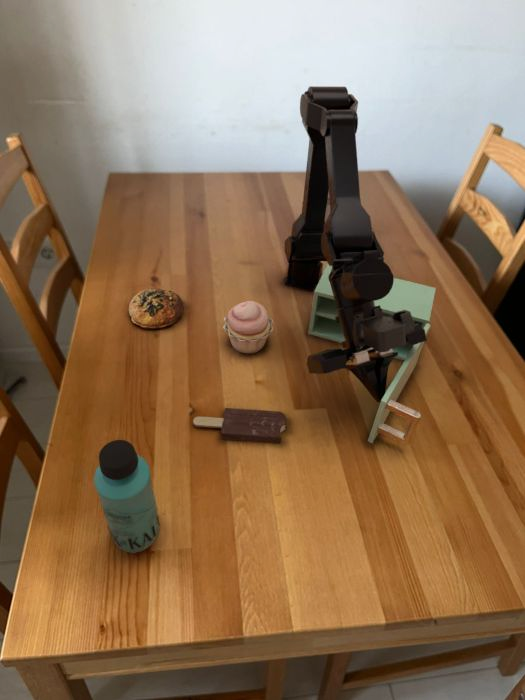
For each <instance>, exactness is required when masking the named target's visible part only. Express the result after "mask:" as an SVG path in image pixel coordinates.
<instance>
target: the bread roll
mask: <svg viewBox="0 0 525 700" xmlns="http://www.w3.org/2000/svg"><path fill="white" fill-rule="evenodd" d="M184 307H185V306H184V302H183V300H182V297H180V295H179V294H177V293H175V292H174V291H172V290H166V289H161V288H156V287H155V288H147V289H143V290H141V291H139V292H137V293H136V295H134V296H133V297H132V299H131V300H130V302H129V304H128V315H129V316H130V318H131V321H132V323H133V324H134V325H135V324H136V325H137V326H140V327H141V328H143V329H149V330H152V329H160V328H168V327H169V326H171V325H174V324H175V323H176V322H177V321H178V320H179V319H180V318H181V316H182V314H183V313H184Z"/></svg>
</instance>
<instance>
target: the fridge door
mask: <svg viewBox="0 0 525 700" xmlns="http://www.w3.org/2000/svg"><path fill="white" fill-rule="evenodd" d="M423 329H424V330H425V333H426V337H428V335H429V331H430V329H431V324H430V323H428V324H427V323H426V325H425V327H424V328H423ZM425 342H426V341H424V342H421V343H418V344H415V345H413V347H412V349H411V350H410V352H409V354H408V355H407V357H406V359H405V360H403V362H402V364H401V366H400V368H399V369H398V371H397V372H396V374H395V375H394V377H393V379H392V381H391V382H390V384H389V386H388V388H386V391H385V395H384V396H383V398H382V400H381V402H380V403H379V406H378V407H377V408H378V409H377V412H376V415H375V417H374V421H373V424H372V426H371V430H370V432H369V436H368V438H367V442H368V443H370V444H374V441H375V440H376V438H377V436H378V435H379V434H381V435H383V436H385V437H387V438H389V439H391V440H394V441H395V442H397V443H400V444H401V445H403V446H409V444H410V443H411V440H412V438H413V436H414V433H415V431H416V429H417V426H418V424H419V423H420V420H421V417H422V414H421V413H420V412H419V411H417V410H415V409H413V408H410V407H409V406H406V405H404V404H402V403H400V402H398V401H397V400H398V398H399V396H400V394H401V393H402V391H403V389H404V388H405V386H406V384H407V382H408V380H409V378H410V377H411V375H412V373H413V371H414V369H415V368H416V366H417V364H418V360H419V358H420V355H421V353H422V349H423V347H424V345H425ZM390 412H392V413H394V414H396V415H398V416H399V417H402V418H403V419H406V420H409V422H408V424H407V426H406V428H405V431H404V432H403V431H400V430H398V429H396V428H394V427H392V426H390V425H388V424H387V423H385V421H386V420H387V418H388V416H389V414H390Z"/></svg>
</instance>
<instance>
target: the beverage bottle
mask: <svg viewBox="0 0 525 700" xmlns="http://www.w3.org/2000/svg"><path fill="white" fill-rule="evenodd" d="M98 461H99V465H98V467H97V468H96V470H95V472H94V478H93V483H94V487H95V489H96V491H97V495H98V497H99V503H100V507H101V508H102V514H103V515H104V518H105V520H106V524H107V525H106V528H108V530H109V531H108V532H109V536H110V537H111V540H112V542H113V543H114V545H115V547H116V548H118V549H120V550H121V551H123V552H126V553H140V552H142V551H144V550H146V549H148V548H149V547H151V546H152V545H153V544H154V542H155V541H156V540H157V538H158V537H159V535H160V530H161V528H160V527H161V522H160V515H159V513H158V511H159V509H158V506H157V500H156V499H157V496H156V494H155V492H154V489H153V483H152V478H151V470H150V469H151V468H150V466H149V463H148V462H147V461H146V459H145V458H144V457H142V456H141V455H139V454H138V453H137V452H136V449H135V447H134V445H133V444H132V443H131V442H130V441H128V440H126V439H116V440H111V441H109V442H107V443H106V444H105V445H103V446H102V448H101V449H100V451H99V454H98Z"/></svg>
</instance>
